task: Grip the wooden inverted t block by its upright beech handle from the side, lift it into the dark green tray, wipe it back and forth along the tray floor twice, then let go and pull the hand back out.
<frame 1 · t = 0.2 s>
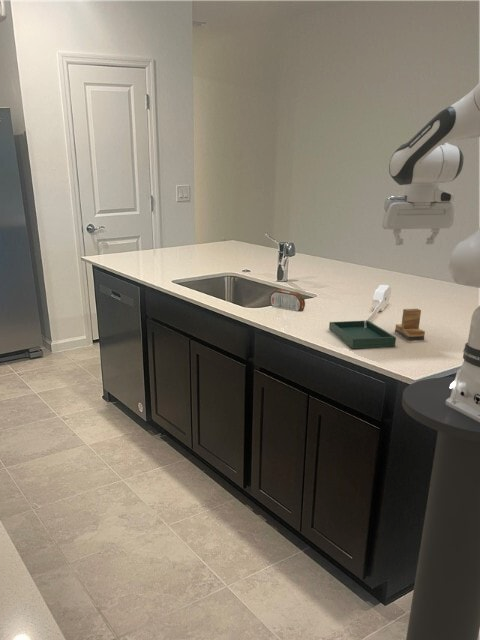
hand: (414, 244, 162), 30 cm above the countertop, tool pointing down, fingers open, 8 cm apart
tin: (286, 312, 214), on the countertop
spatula: (372, 316, 201), point 1 cm above the countertop, touching tray
tray: (360, 338, 178), on the countertop
wooden inverted t block: (408, 336, 178), on the countertop
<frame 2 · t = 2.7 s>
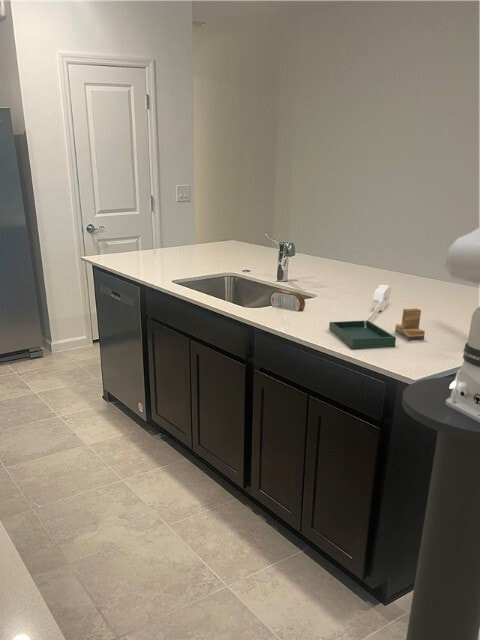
hand: (454, 267, 172), 22 cm above the countertop, tool horizontal, fingers open, 8 cm apart
nothing on the countertop moved.
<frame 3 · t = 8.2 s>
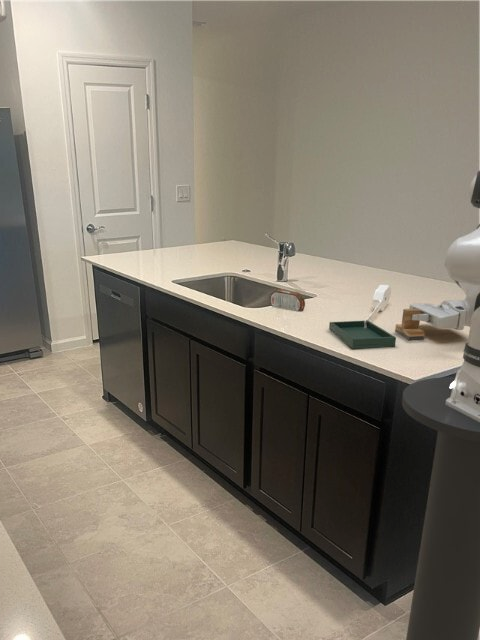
hand: (408, 315, 176), 7 cm above the countertop, tool horizontal, fingers closed on wooden inverted t block, 2 cm apart
wooden inverted t block: (408, 336, 178), on the countertop, touching gripper
everything else where it was.
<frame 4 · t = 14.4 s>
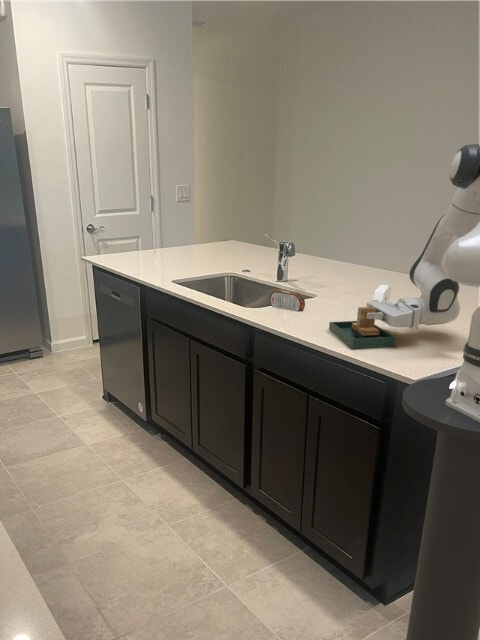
hand: (363, 314, 172), 9 cm above the countertop, tool horizontal, fingers closed on wooden inverted t block, 2 cm apart
wooden inverted t block: (364, 335, 175), point 2 cm above the countertop, touching gripper
everything else where it was.
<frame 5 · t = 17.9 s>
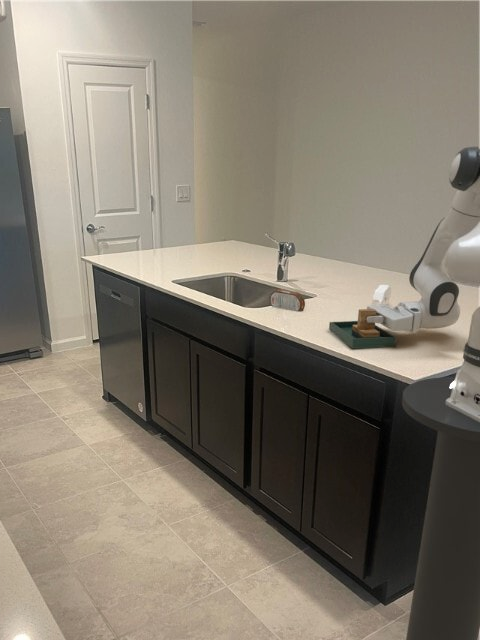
hand: (363, 317, 172), 8 cm above the countertop, tool horizontal, fingers closed on wooden inverted t block, 2 cm apart
wooden inverted t block: (364, 337, 174), point 1 cm above the countertop, touching gripper
everything else where it was.
when the fingers open (7 cm above the countertop, at t = 20.6 s): wooden inverted t block stays where it is, resting on tray.
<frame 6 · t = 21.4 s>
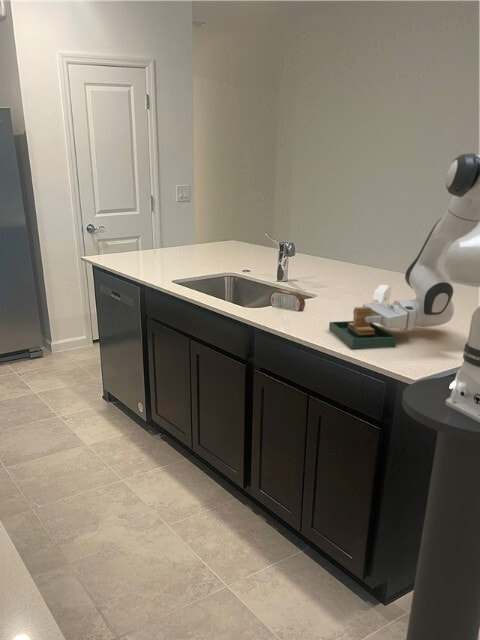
hand: (359, 315, 175), 7 cm above the countertop, tool horizontal, fingers open, 8 cm apart
wooden inverted t block: (360, 335, 178), point 1 cm above the countertop, touching tray
everything else where it was.
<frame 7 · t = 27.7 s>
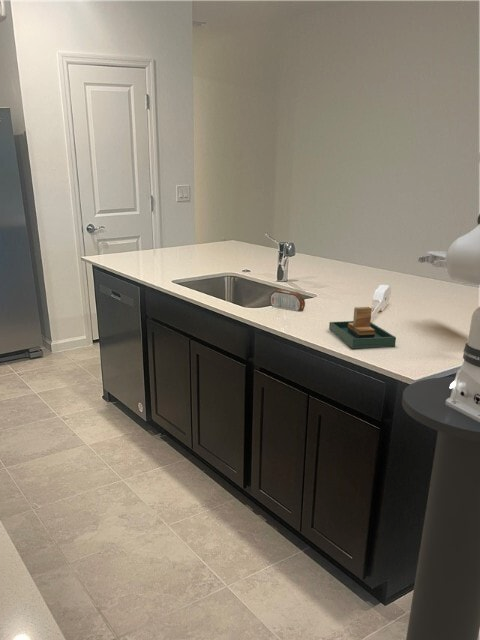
hand: (426, 261, 171), 24 cm above the countertop, tool horizontal, fingers open, 8 cm apart
nothing on the countertop moved.
at the end: wooden inverted t block inside the target area in the tray (0.0 cm from its centre), point 1.0 cm above the tray's base; wooden inverted t block tilted 0°; the gripper is holding nothing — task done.
